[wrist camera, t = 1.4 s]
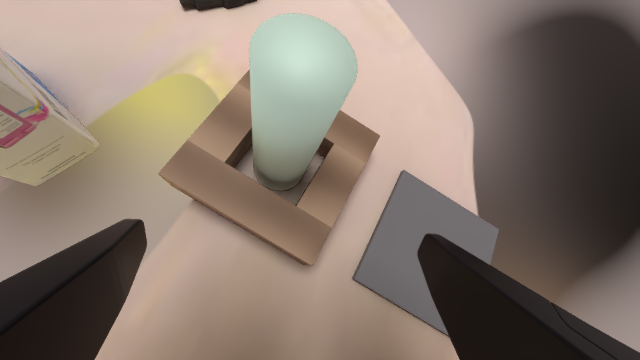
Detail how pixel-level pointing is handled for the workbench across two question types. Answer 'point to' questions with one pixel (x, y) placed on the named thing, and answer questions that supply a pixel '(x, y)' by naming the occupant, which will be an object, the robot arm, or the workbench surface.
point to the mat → (405, 238)
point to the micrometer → (214, 3)
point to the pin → (295, 93)
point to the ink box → (36, 128)
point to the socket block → (256, 200)
